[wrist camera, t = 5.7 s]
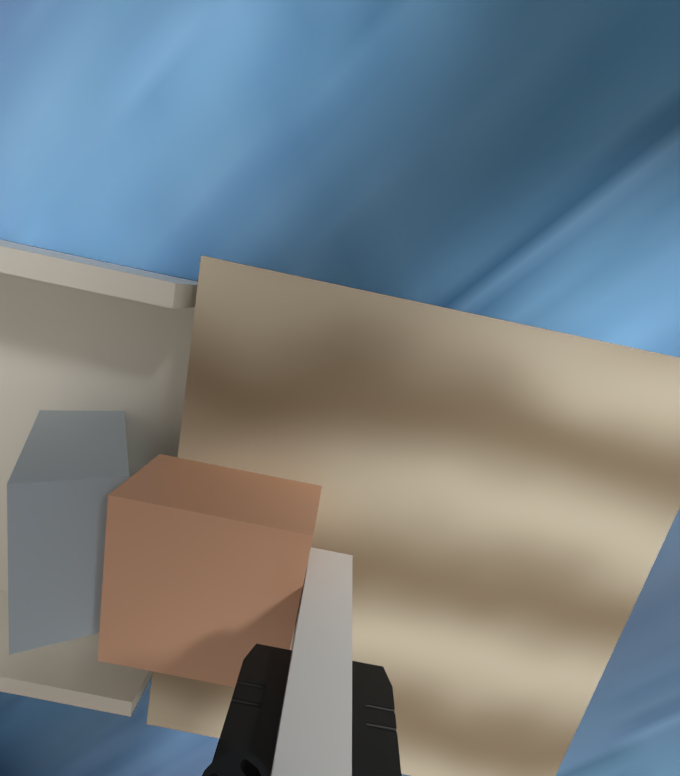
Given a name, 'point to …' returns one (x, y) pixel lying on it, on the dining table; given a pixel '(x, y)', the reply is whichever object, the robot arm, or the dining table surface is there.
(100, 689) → the tray
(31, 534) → the tile rear
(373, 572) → the wavy grain square board
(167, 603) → the tile front
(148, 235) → the dining table surface
